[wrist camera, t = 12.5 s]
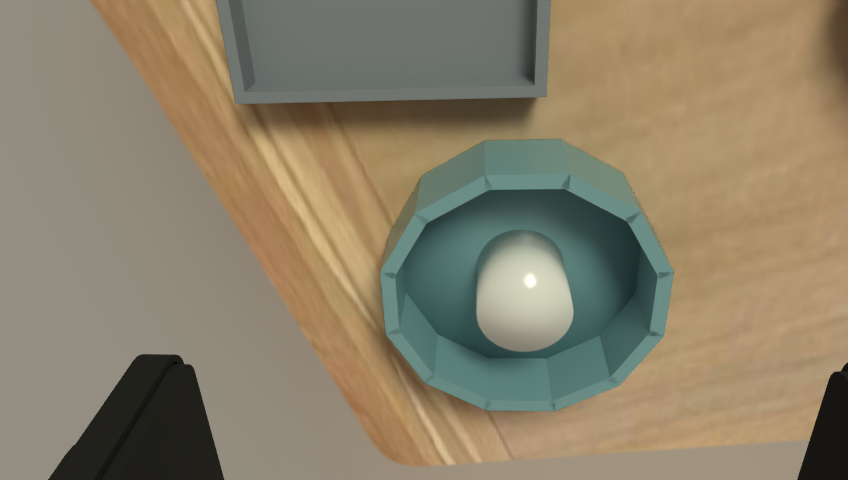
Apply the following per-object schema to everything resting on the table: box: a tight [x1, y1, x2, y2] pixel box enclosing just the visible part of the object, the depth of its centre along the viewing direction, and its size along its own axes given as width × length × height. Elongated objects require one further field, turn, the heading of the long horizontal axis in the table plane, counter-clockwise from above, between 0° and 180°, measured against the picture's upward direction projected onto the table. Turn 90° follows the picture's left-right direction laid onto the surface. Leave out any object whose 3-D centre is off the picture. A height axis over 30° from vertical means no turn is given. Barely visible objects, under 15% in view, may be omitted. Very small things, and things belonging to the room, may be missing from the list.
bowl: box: [380, 139, 674, 411], centre depth 39 cm, size 16×16×5 cm
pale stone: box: [476, 229, 573, 352], centre depth 39 cm, size 5×5×5 cm
